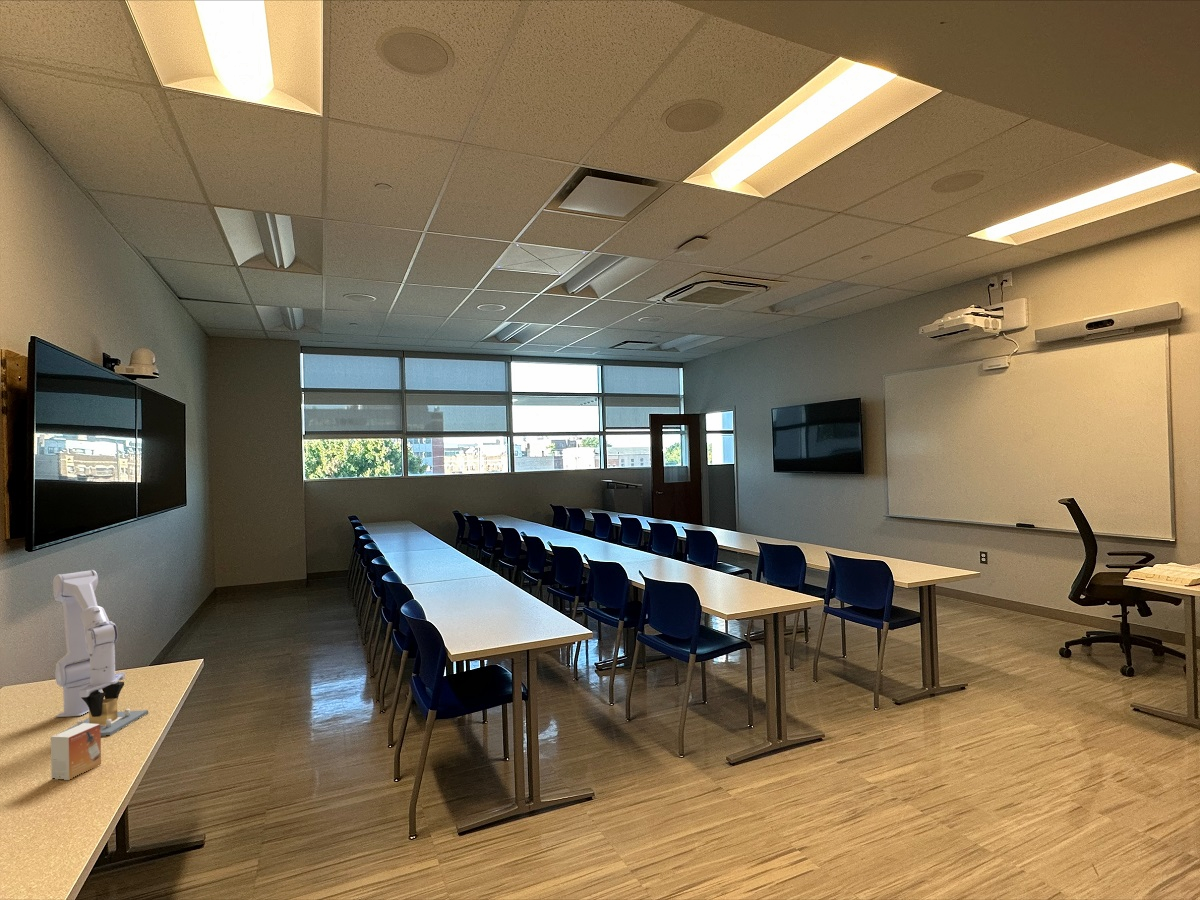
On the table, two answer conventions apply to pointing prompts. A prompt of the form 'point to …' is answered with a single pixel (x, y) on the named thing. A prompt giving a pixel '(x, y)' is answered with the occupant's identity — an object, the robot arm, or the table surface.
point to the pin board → (117, 721)
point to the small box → (75, 751)
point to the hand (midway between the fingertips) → (103, 712)
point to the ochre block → (105, 712)
